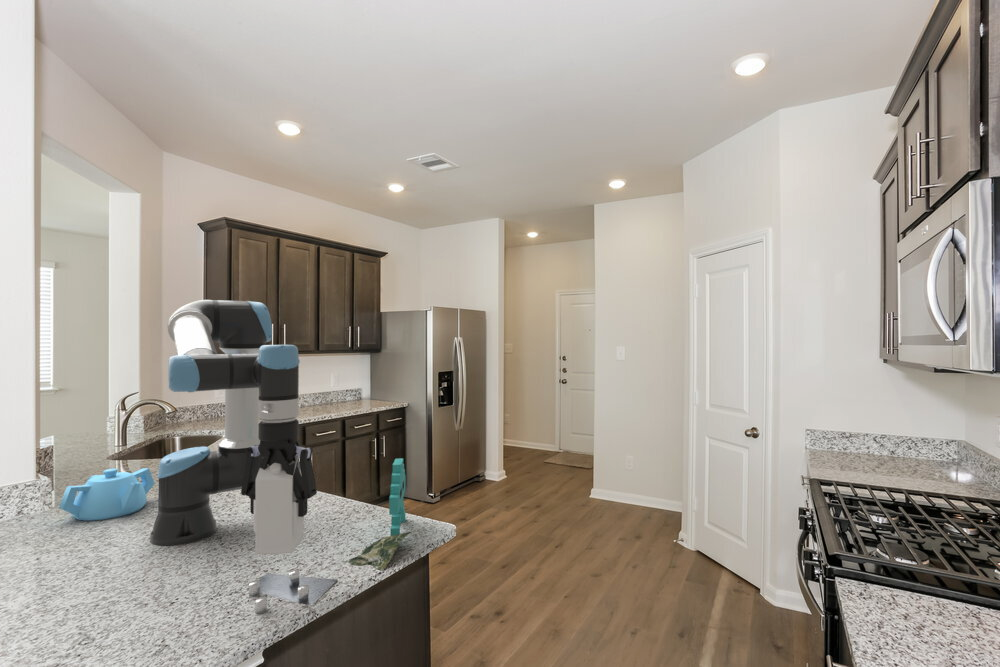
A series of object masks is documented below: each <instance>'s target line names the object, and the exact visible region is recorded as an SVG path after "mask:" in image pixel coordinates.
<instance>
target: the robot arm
mask: <svg viewBox="0 0 1000 667" xmlns="http://www.w3.org/2000/svg"><path fill="white" fill-rule="evenodd" d="M167 332H168V335H169V337H170V339H171V340H172V341H173V342H174V347H175V351H176V355H171V356H170V357H169V359H168V364H167V365H168V368H167V371H168V372H167V375H168V377H167V378H168V379H167V380H168V389H169V391H172V392H174V393H182V392H184V393H185V392H186V393H194V392H206V391H208V392H209V391H222V390H224V400H225V401H224V402H225V403H224V437H223V439H222V440H221V441H219V443H218V450H214V451H211V449H210V447H208V446H195V447H190V448H184V449H181V450H177V451H174V452H171V453H169V454H167V455H165V456H163V457H162V458H161V459H160V461H159V463H158V473H157V478H158V496H157V497H158V508H157V509H158V510H157V511H158V512H157V516H156V519H155V521H154V524H153V528H152V531H151V532H150V535H149V543H151V544H152V545H154V546H159V547H174V546H175V547H176V546H181V545H187V544H191V543H195V542H199V541H202V540H204V539H207V538H210V537H212V536H213V535H214V534H215V533H216V532H217V528H218V524H217V521H216V519H215V517H214V513H213V511H212V508H211V505H210V504H211V503H210V495H215V494H221V493H226V492H232V491H238V490H240V494H241V495H242V496H246V497H248V498H249V499H250V513H251V515H253V532H254V533H256V477H257V474H258V472H259V469H260V468H262V469H264V470H265V469H266V468H267V467H268V466H267V464H269V466H271V465H272V464H273V463H278V464H281V466H282V468H283V470H284V471H286V474H289V475H292V476H293V491H294V494H295V496H296V499H297V500H296V501H294V502H293V534H294V535H297V534H298V533H300V532H301V531H302V530H305V516H306V515H307V514H308V500H309V499H311V498H312V497H314V496H316V495H317V493H318V492H317V484H316V479H315V473H314V467H313V461H312V460H313V459H312V456H313V448H312V447H311V446H309V447H308V446H307V447H303V446H300V444H299V442H298V438H299V434H300V433H299V428H300V426H299V425H300V424H299V421H300V420H298V419H297V417H299V415H300V410H299V409H300V405H299V385H300V384H299V378H300V376H299V372H300V370H299V368H300V366H299V365H300V359H299V349H298V346H296V345H294V344H266V343H269V342H271V341H272V339H273V325H272V319H271V315H270V312H269V309H268V307H267V305H266V304H265V303H263V302H259V301H250V300H245V301H244V300H222V299H220V300H219V299H217V300H215V299H213V300H212V299H200V300H196V301H192V302H189V303H187V304H185V305H183V306H181V307H179V308H178V309H177V310H176V311H174V312H173V313H172V314H171V316H170V317H169V320H168V321H167ZM215 343H219V350H220V351H221V352H222V353H218V351H217V349H216V347H215ZM259 420H260V421H259ZM296 455H298V459H299V462H300V469H301V474H300V471H299V469H298V462H297V465H296V468H295V463H293V464H290V465H289V463H291V461H295V462H296V459H295V456H296ZM262 457H263V459H262ZM294 468H295V471H294ZM293 474H294V475H293ZM301 475H302V476H301Z"/></svg>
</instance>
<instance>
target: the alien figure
mask: <svg viewBox="0 0 1000 667" xmlns="http://www.w3.org/2000/svg"><path fill="white" fill-rule="evenodd" d="M406 476H407V475H406V469H405V464H404V458H395V459H394V461H393V463H392V473H391V484H390V494H389V497H388V499H389V502H388V503H389V505H388V506H389V507H388V508H389V509H388V512H389V516H391V525H390V530H389V531H390V532H389V533H390V535H389V536H393V535H398V534H401V523H405V522H406V514H407V513H406V511H405V510H406V507H405V502H404V495H405V492H406V488H407V487H406V481H407V480H406Z"/></svg>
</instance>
